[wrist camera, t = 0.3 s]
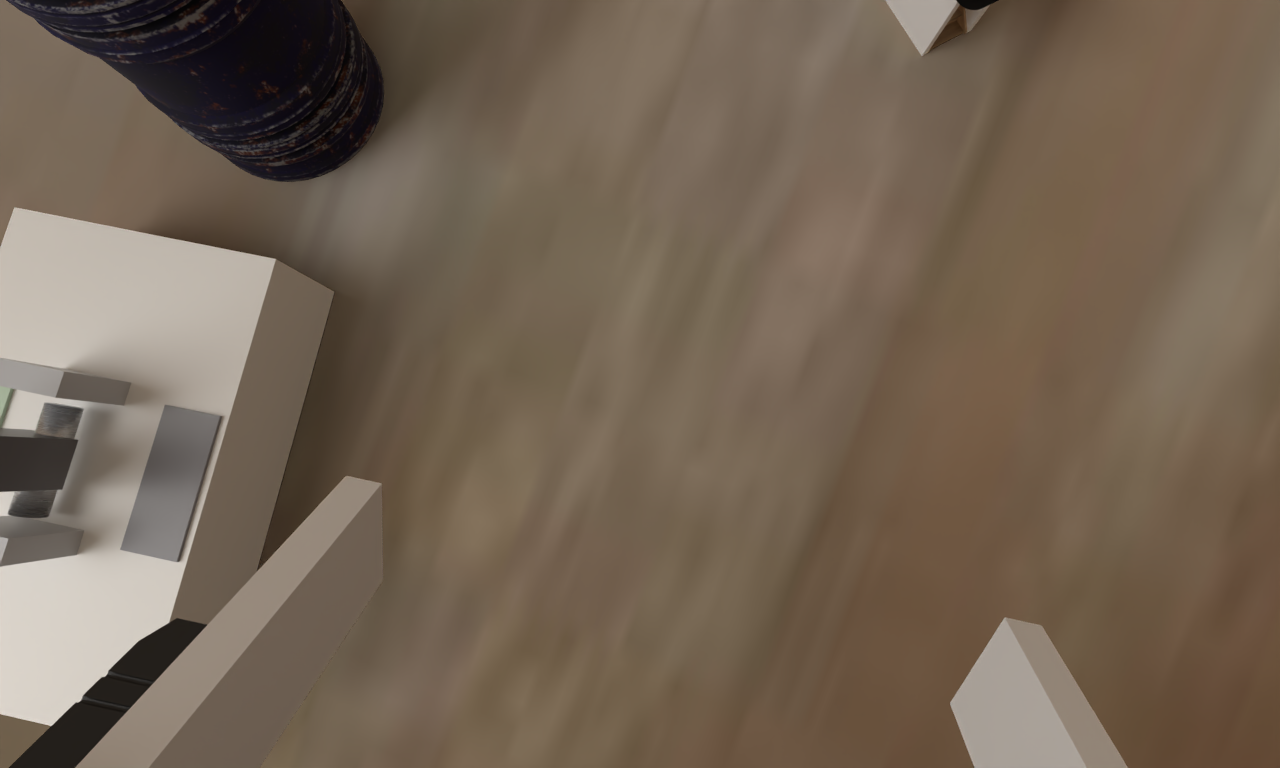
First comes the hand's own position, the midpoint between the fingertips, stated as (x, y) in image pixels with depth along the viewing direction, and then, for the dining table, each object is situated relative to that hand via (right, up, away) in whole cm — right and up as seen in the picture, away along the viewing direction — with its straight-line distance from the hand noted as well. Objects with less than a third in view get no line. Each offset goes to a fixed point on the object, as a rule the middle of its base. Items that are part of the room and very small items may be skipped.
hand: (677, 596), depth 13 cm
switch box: (-24, +1, +17) cm, 30 cm away
